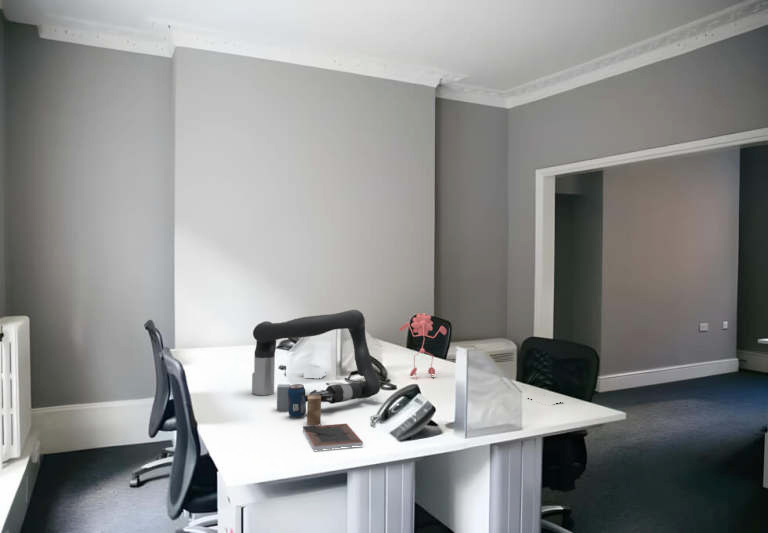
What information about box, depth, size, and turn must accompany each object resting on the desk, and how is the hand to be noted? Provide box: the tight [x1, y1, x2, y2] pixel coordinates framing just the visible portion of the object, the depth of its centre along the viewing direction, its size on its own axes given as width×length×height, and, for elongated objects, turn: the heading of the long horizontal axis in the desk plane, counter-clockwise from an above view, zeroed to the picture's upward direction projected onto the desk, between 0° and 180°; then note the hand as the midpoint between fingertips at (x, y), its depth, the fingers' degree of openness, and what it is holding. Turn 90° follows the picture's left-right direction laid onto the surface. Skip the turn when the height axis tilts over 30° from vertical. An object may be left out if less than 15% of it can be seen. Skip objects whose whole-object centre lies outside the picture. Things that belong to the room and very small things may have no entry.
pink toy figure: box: [398, 312, 447, 378], centre depth 296 cm, size 15×26×35 cm, turn 102°
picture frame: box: [302, 423, 364, 451], centre depth 190 cm, size 16×2×22 cm
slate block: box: [276, 383, 291, 412], centre depth 225 cm, size 5×5×10 cm
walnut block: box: [306, 395, 322, 426], centre depth 208 cm, size 5×5×10 cm
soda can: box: [288, 383, 307, 419], centre depth 216 cm, size 7×7×12 cm
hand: (304, 398), depth 218 cm, fingers closed
